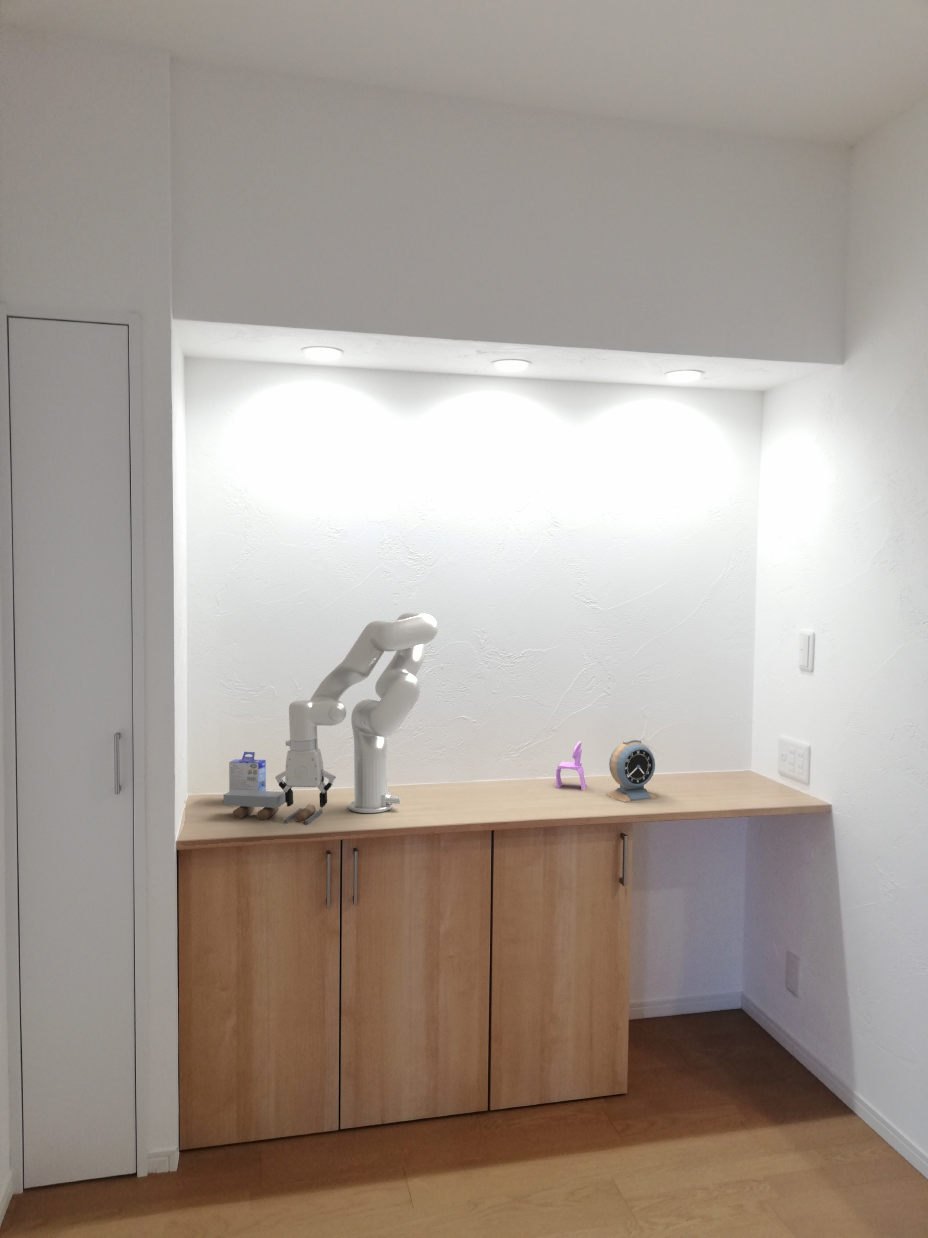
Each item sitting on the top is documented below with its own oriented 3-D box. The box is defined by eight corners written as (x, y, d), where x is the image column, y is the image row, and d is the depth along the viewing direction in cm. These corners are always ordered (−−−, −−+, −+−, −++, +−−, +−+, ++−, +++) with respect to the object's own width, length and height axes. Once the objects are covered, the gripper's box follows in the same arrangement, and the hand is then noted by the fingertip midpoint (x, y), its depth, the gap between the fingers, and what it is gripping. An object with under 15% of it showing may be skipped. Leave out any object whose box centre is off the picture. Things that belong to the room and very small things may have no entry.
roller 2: (280, 808, 251) (273, 800, 252) (269, 816, 244) (262, 807, 244) (273, 815, 252) (266, 807, 252) (261, 823, 244) (254, 814, 244)
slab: (285, 802, 250) (285, 792, 250) (277, 808, 244) (277, 797, 244) (232, 800, 253) (232, 789, 253) (223, 805, 247) (223, 794, 247)
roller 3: (303, 824, 242) (307, 814, 242) (293, 820, 242) (297, 810, 242) (313, 816, 250) (317, 807, 249) (304, 812, 250) (307, 803, 250)
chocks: (322, 812, 251) (322, 809, 251) (307, 824, 240) (307, 820, 239) (300, 811, 253) (299, 808, 252) (284, 823, 241) (284, 819, 241)
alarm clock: (621, 802, 262) (621, 744, 262) (603, 795, 271) (603, 738, 270) (660, 798, 268) (661, 740, 267) (641, 790, 277) (642, 735, 276)
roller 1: (251, 814, 253) (256, 805, 253) (239, 821, 245) (244, 812, 245) (243, 808, 253) (247, 799, 253) (230, 816, 246) (235, 807, 245)
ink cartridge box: (267, 799, 267) (266, 751, 267) (259, 803, 262) (258, 755, 261) (236, 797, 269) (236, 750, 268) (228, 802, 264) (227, 754, 263)
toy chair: (560, 783, 287) (561, 737, 287) (587, 785, 284) (587, 739, 284) (554, 789, 280) (554, 742, 279) (581, 791, 277) (582, 744, 276)
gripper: (269, 747, 243) (272, 808, 244) (329, 748, 240) (331, 810, 241) (279, 742, 250) (282, 801, 252) (338, 742, 247) (340, 802, 248)
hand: (306, 805), depth 246 cm, fingers open, 9 cm apart
